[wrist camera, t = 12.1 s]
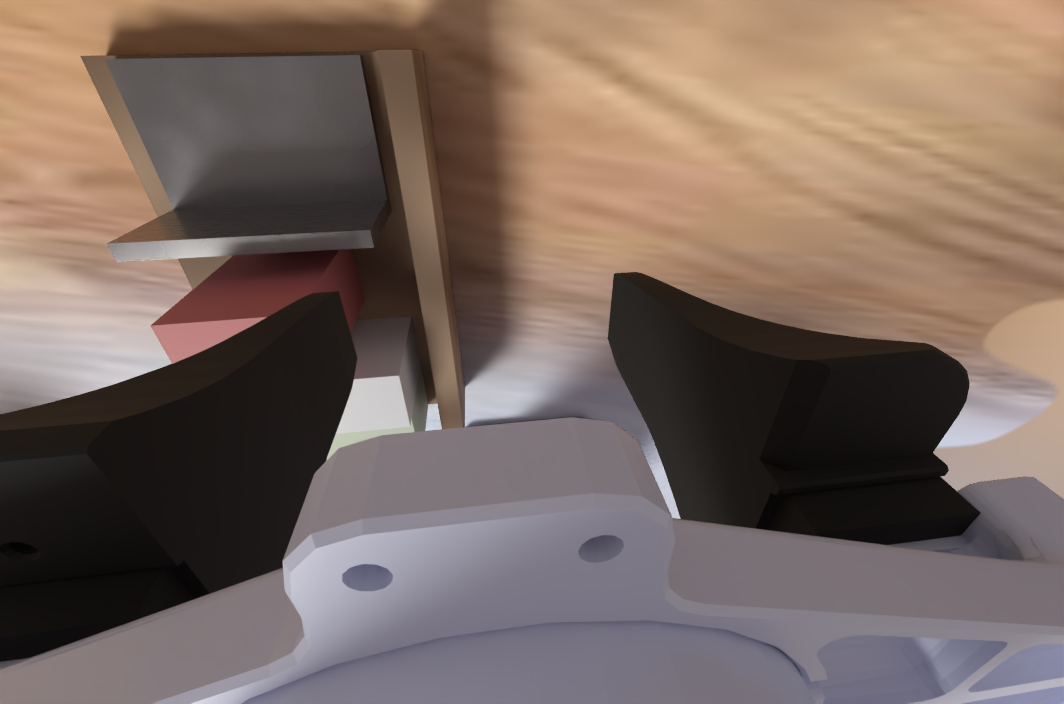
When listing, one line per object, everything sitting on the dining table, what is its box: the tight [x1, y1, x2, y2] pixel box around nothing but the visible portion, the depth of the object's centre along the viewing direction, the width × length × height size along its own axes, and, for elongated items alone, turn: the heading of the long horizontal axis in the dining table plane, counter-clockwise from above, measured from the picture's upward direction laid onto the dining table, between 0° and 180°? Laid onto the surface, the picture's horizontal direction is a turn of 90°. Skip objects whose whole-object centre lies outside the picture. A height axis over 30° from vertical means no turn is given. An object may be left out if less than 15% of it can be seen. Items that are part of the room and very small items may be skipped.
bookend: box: [105, 55, 392, 262], centre depth 15 cm, size 5×8×4 cm
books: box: [326, 316, 428, 461], centre depth 20 cm, size 6×8×5 cm
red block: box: [151, 249, 365, 364], centre depth 17 cm, size 3×4×7 cm
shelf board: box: [81, 49, 465, 429], centre depth 19 cm, size 16×11×4 cm
